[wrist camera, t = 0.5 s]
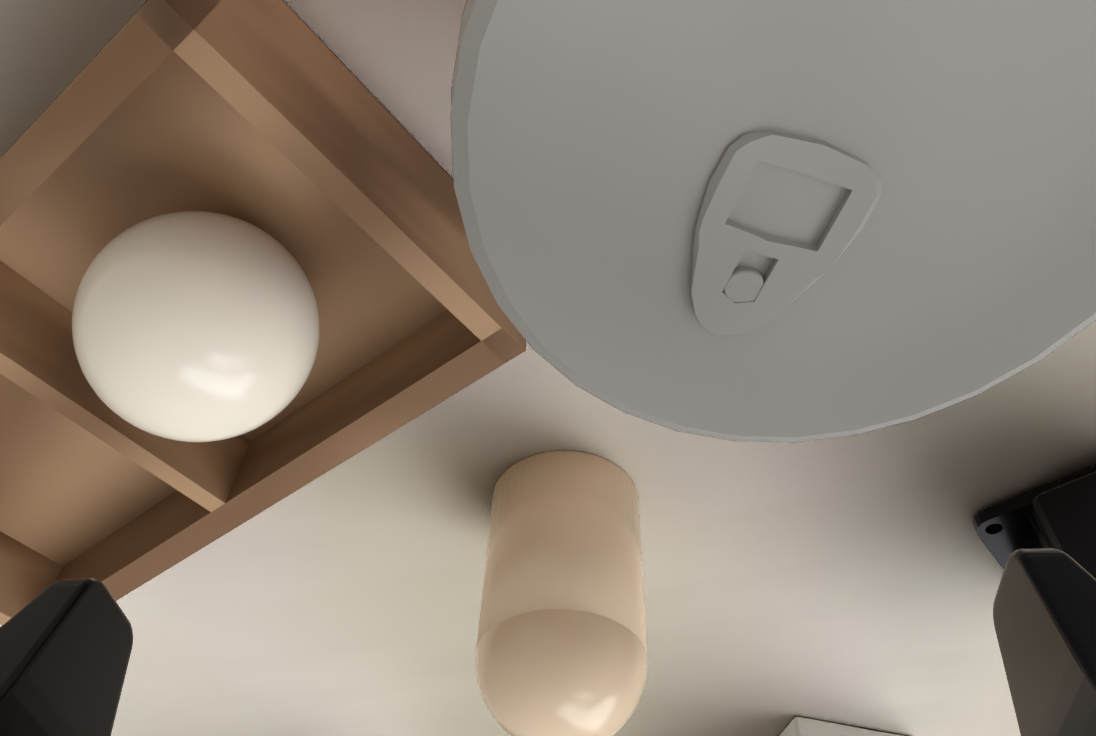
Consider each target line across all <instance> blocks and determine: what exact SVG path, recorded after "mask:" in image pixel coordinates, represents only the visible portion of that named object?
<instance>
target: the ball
mask: <svg viewBox="0 0 1096 736" xmlns="http://www.w3.org/2000/svg"><path fill="white" fill-rule="evenodd" d="M72 336H73V344H74V349H75V353H76V356H77V359H78V362H79V365H80V367H81V370H82V372H83V374H84V376H85V378H86V380H87V381H88V383H89V384H90V386H91V387H92V389H93V390H94V392H95V393H96V394H97V396H98V397H99V398H100V399H101V400H102V401H103V402H104V404H105V405H106V406H108V407H109V408H110V409H111V410H112V411H113V412H114V413H116V414H117V415H118V416H120V417H121V418H122V419H124V420H125V421H127V422H128V423H130V424H132V425H133V426H135V427H137V428H139V429H141V430H143V431H146V432H148V433H151V434H153V435H156V436H160V437H163V438H167V439H172V440H177V441H184V442H210V441H217V440H224V439H229V438H232V437H236V436H239V435H241V434H244V433H247V432H249V431H252V430H254V429H256V428H258V427H259V426H261V425H263V424H265V423H266V422H268V421H269V420H271V419H272V418H274V417H275V416H276V415H278V414H279V413H280V412H281V411H282V410H283V409H284V408H285V407H287V406H288V405H289V403H290V402H291V401H292V400H293V399H294V398H295V397H296V395H297V394H298V392H299V391H300V390H301V388H302V387H303V385H304V383H305V382H306V380H307V378H308V376H309V374H310V372H311V369H312V367H313V364H314V361H315V358H316V354H317V349H318V344H319V314H318V308H317V302H316V299H315V296H314V292H313V290H312V287H311V285H310V283H309V281H308V279H307V277H306V275H305V273H304V271H303V270H302V268H301V266H300V265H299V263H298V262H297V261H296V260H295V258H294V257H293V256H292V255H291V254H290V252H289V251H288V250H287V249H286V248H285V247H284V246H283V245H281V244H280V243H279V242H278V241H277V240H276V239H274V238H273V237H272V236H271V235H269V234H268V233H266V232H265V231H263V230H262V229H260V228H258V227H256V226H254V225H252V224H250V223H248V222H246V221H243V220H241V219H238V218H236V217H232V216H228V215H225V214H219V213H213V212H207V211H180V212H173V213H168V214H163V215H158V216H155V217H153V218H150V219H147V220H144V221H142V222H140V223H137V224H136V225H134V226H132V227H130V228H128V229H126V230H125V231H123V232H122V233H121V234H119V235H118V236H117V237H115V238H114V239H113V240H111V241H110V242H109V243H108V244H107V245H106V246H105V247H104V248H103V249H102V250H101V251H100V253H99V254H98V255H97V256H96V257H95V258H94V259H93V261H92V263H91V264H90V266H89V267H88V269H87V271H86V272H85V274H84V276H83V277H82V280H81V282H80V285H79V288H78V291H77V294H76V297H75V300H74V306H73V314H72Z"/></svg>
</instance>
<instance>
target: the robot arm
mask: <svg viewBox="0 0 1096 736" xmlns="http://www.w3.org/2000/svg"><path fill="white" fill-rule="evenodd" d="M973 524H974V527H975V529H976V532H977V534H978V536H979V537H980V538H981V540H982V541H983V542H984V544H985V545H986V546H987V548H988V549H989V550H990V552H991V553H992V554H993V556H994V557H995V558H996V560H997V561H998V562H999V564H1000V565H1001V566H1002V567H1003V569H1004V572H1003V575H1002V578H1001V581H1000V585H999V588H998V591H997V594H996V597H995V600H994V606H993V618H994V626H995V630H996V634H997V639H998V643H999V647H1000V651H1001V655H1002V659H1003V663H1004V667H1005V671H1006V675H1007V680H1008V684H1009V688H1010V692H1011V696H1012V700H1013V704H1014V708H1015V712H1016V717H1017V721H1018V725H1019V729H1020V733H1021V736H1096V465H1095V466H1093V467H1090V468H1088V469H1085V470H1083V471H1080V472H1078V473H1075V474H1073V475H1070V476H1068V477H1065V478H1063V479H1060V480H1058V481H1055V482H1053V483H1050V484H1048V485H1045V486H1043V487H1040V488H1038V489H1035V490H1033V491H1030V492H1028V493H1025V494H1023V495H1020V496H1018V497H1015V498H1013V499H1010V500H1008V501H1005V502H1003V503H1000V504H998V505H995V506H993V507H990V508H988V509H985V510H983V511H981V512H979V513H978V514H977V515H976V516H975V517H974V519H973ZM132 644H133V633H132V628H131V624H130V622H129V620H128V619H127V617H126V616H125V614H124V613H123V611H122V610H121V608H120V607H119V605H118V604H117V603H116V601H115V600H114V598H113V597H112V595H111V594H110V592H109V591H108V589H107V588H106V586H105V585H104V584H103V583H102V582H101V581H99V580H97V579H94V578H81V579H63V580H59V581H56V582H55V583H53V584H51V585H50V586H49V587H47V588H46V589H45V590H44V591H42V592H41V593H40V594H39V595H38V596H37V597H35V598H34V599H33V600H32V601H31V602H29V603H28V604H27V605H26V606H25V607H24V608H22V609H21V610H20V611H19V612H18V613H17V614H15V615H14V616H13V617H12V618H11V619H9V620H8V621H7V622H6V623H5V624H4V625H2V626H1V627H0V736H111V732H112V728H113V724H114V720H115V716H116V712H117V707H118V703H119V699H120V695H121V691H122V687H123V683H124V678H125V674H126V670H127V666H128V662H129V658H130V654H131V650H132Z"/></svg>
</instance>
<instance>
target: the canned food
mask: <svg viewBox="0 0 1096 736" xmlns="http://www.w3.org/2000/svg"><path fill="white" fill-rule="evenodd" d="M451 105H452V110H451V135H452V156H453V177H454V189H455V193H456V197H457V201H458V205H459V208H460V212H461V216H462V220H463V224H464V228H465V231H466V235H467V239H468V243H469V247H470V250H471V252H472V254H473V256H474V258H475V260H476V262H477V264H478V266H479V268H480V270H481V272H482V274H483V276H484V278H485V280H486V282H487V284H488V286H489V288H490V290H491V292H492V294H493V296H494V298H495V300H496V302H497V304H498V306H499V307H500V308H501V309H502V311H503V312H504V313H505V314H506V316H507V317H508V318H509V320H510V321H511V322H512V323H513V325H514V326H515V327H516V328H517V330H518V331H519V332H520V333H521V335H522V336H523V337H524V338H525V340H526V341H527V342H528V343H529V345H530V346H531V347H532V348H533V350H535V351H536V352H537V353H538V354H539V355H540V356H542V357H543V358H544V359H545V360H546V361H548V362H549V363H550V364H551V365H552V366H554V367H555V368H556V369H557V370H558V371H559V372H561V373H562V374H563V375H564V376H565V377H567V378H568V379H569V380H570V381H571V382H573V383H574V384H575V385H576V386H578V387H580V388H581V389H583V390H585V391H587V392H589V393H590V394H592V395H594V396H596V397H597V398H599V399H601V400H603V401H605V402H606V403H608V404H610V405H612V406H614V407H615V408H617V409H619V410H621V411H622V412H624V413H627V414H630V415H633V416H636V417H638V418H641V419H644V420H647V421H650V422H653V423H656V424H658V425H661V426H664V427H667V428H670V429H673V430H676V431H680V432H685V433H691V434H697V435H702V436H708V437H714V438H720V439H725V440H731V441H756V442H800V441H809V440H817V439H826V438H834V437H843V436H851V435H857V434H861V433H864V432H868V431H872V430H876V429H880V428H884V427H888V426H892V425H896V424H900V423H904V422H907V421H911V420H915V419H918V418H921V417H923V416H926V415H928V414H931V413H933V412H936V411H938V410H941V409H943V408H946V407H948V406H951V405H953V404H956V403H958V402H961V401H963V400H966V399H968V398H971V397H973V396H976V395H978V394H980V393H982V392H984V391H986V390H988V389H989V388H991V387H993V386H995V385H997V384H998V383H1000V382H1002V381H1004V380H1006V379H1007V378H1009V377H1011V376H1013V375H1015V374H1017V373H1018V372H1020V371H1022V370H1024V369H1026V368H1027V367H1029V366H1031V365H1033V364H1035V363H1036V362H1038V361H1040V360H1042V359H1043V358H1044V357H1046V356H1047V355H1048V354H1050V353H1051V352H1052V351H1054V350H1055V349H1057V348H1058V347H1059V346H1061V345H1062V344H1063V343H1065V342H1066V341H1067V340H1069V339H1070V338H1072V337H1073V336H1074V335H1076V334H1077V333H1078V332H1080V331H1081V330H1082V329H1084V328H1085V327H1087V326H1088V325H1089V324H1091V323H1092V322H1093V321H1095V320H1096V0H467V2H466V5H465V8H464V12H463V15H462V22H461V28H460V35H459V41H458V48H457V55H456V61H455V68H454V74H453V81H452V87H451Z"/></svg>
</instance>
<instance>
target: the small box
mask: <svg viewBox="0 0 1096 736" xmlns="http://www.w3.org/2000/svg"><path fill="white" fill-rule="evenodd" d="M779 736H903V735H897V734H891V733H885V732H879V731H873V730H868V729H862V728H857V727H852V726H847V725H841V724H836V723H830V722H825V721H819V720H814V719H809V718H802V717H795V718H794V719H793V720H792V721H791V722H790V724H789V725H788V726H787V727H786V728H785V730H784V731H783V732H782V733H781V734H780V735H779Z"/></svg>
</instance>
